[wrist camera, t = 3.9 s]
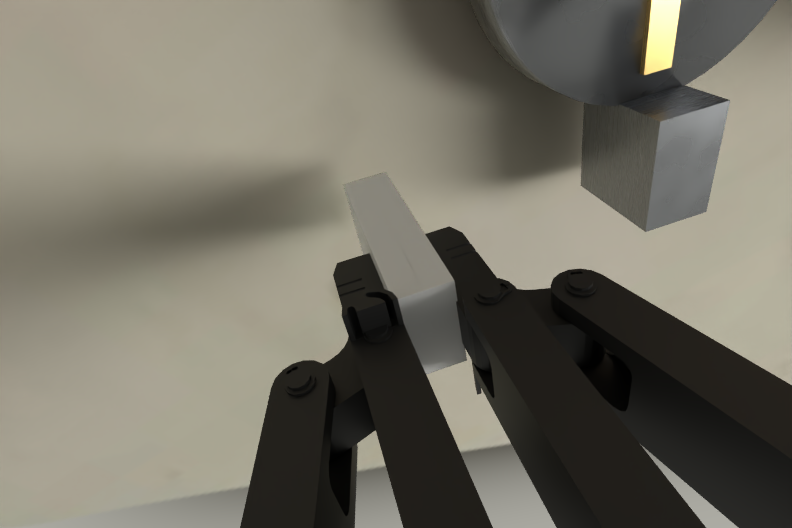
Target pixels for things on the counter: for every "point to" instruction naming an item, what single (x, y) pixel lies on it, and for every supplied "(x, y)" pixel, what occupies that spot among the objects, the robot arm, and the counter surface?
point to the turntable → (632, 89)
